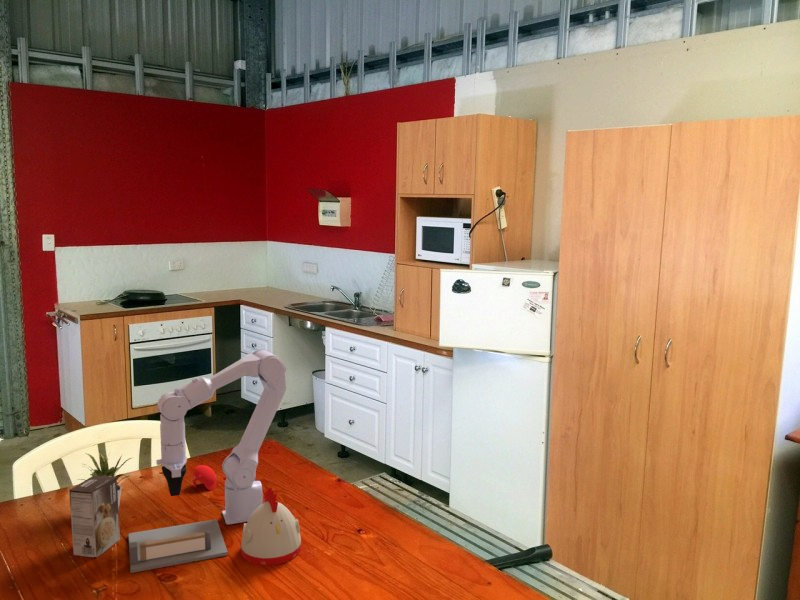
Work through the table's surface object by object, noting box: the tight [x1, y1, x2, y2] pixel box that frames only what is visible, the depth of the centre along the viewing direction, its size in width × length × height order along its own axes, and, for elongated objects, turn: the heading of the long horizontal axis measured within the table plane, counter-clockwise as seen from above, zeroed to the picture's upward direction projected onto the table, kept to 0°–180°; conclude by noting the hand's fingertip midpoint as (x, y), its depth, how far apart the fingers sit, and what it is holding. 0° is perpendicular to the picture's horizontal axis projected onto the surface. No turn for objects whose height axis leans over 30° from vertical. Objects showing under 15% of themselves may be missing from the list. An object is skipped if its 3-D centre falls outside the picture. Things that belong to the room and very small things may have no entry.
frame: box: [128, 518, 229, 574], centre depth 162 cm, size 21×18×5 cm
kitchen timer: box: [240, 487, 302, 566], centre depth 160 cm, size 14×14×15 cm
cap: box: [192, 464, 218, 491], centre depth 196 cm, size 8×6×6 cm
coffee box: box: [68, 475, 121, 558], centre depth 160 cm, size 9×6×16 cm
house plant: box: [77, 452, 134, 510], centre depth 178 cm, size 14×14×16 cm
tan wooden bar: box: [140, 532, 205, 561], centre depth 156 cm, size 14×1×4 cm, turn 113°
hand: (175, 494), depth 168 cm, fingers closed
